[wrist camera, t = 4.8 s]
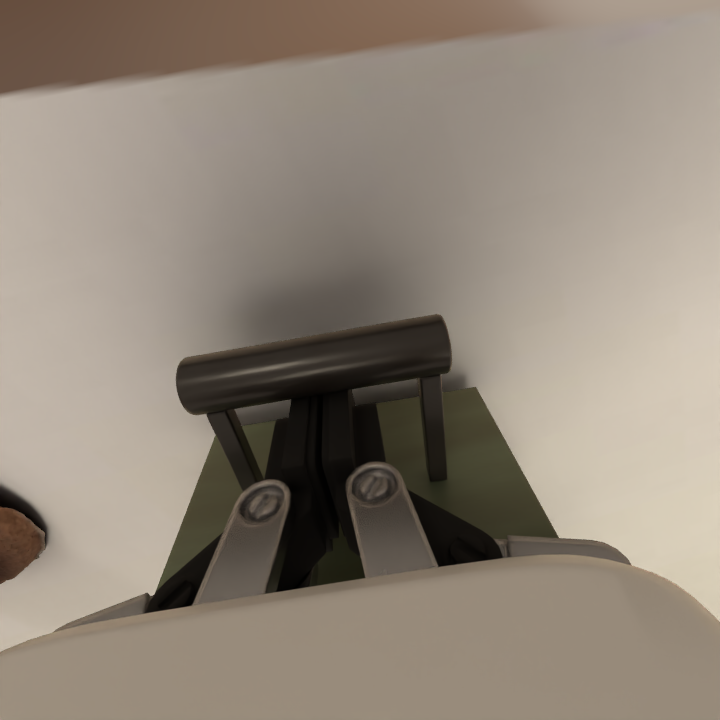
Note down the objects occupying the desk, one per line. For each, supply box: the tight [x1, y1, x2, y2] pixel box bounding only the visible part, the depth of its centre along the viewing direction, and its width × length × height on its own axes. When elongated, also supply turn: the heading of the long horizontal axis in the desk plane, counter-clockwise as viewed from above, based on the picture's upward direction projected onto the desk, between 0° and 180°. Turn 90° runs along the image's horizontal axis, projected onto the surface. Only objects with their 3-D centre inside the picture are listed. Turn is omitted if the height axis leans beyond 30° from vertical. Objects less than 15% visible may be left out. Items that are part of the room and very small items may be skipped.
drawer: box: [155, 314, 559, 593], centre depth 15 cm, size 19×11×8 cm, turn 9°
